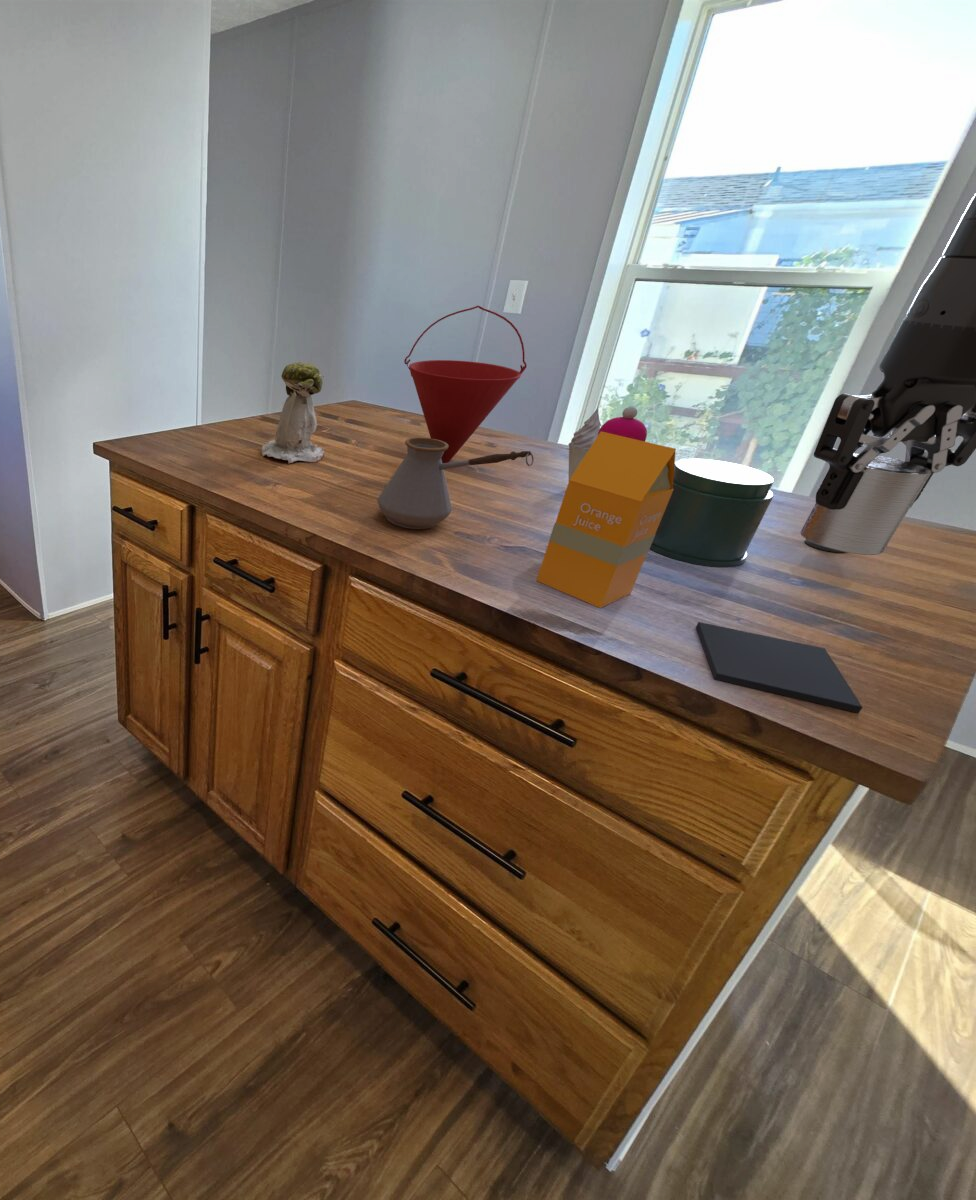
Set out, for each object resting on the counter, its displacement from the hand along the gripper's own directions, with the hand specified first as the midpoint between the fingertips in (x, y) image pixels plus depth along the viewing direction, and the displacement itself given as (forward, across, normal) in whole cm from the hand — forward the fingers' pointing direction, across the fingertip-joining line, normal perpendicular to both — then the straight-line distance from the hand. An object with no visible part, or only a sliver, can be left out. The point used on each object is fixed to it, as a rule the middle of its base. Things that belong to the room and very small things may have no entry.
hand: (861, 506), depth 63 cm
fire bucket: (+19, -9, +69) cm, 72 cm away
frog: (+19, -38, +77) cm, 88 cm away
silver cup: (+4, 0, 0) cm, 4 cm away
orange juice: (+19, -10, +18) cm, 28 cm away
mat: (+19, 0, 0) cm, 19 cm away
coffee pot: (+19, -22, +38) cm, 48 cm away
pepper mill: (+19, +1, +35) cm, 40 cm away
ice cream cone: (+19, +10, +56) cm, 60 cm away
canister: (+19, +14, +31) cm, 39 cm away
